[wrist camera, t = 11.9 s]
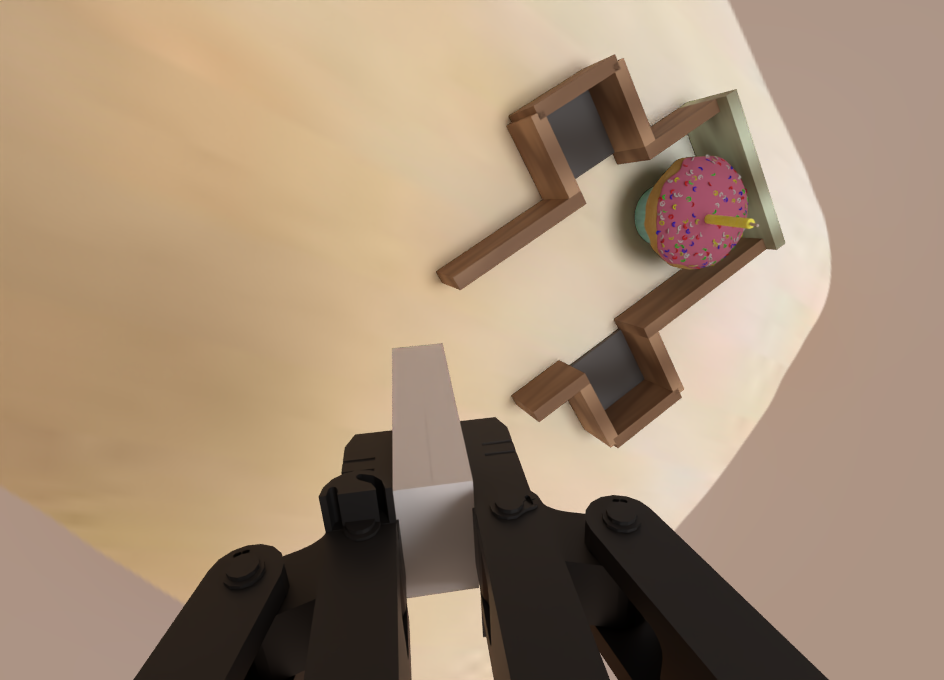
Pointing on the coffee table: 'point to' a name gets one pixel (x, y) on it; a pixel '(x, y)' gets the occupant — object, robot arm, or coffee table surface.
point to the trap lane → (554, 172)
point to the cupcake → (694, 212)
